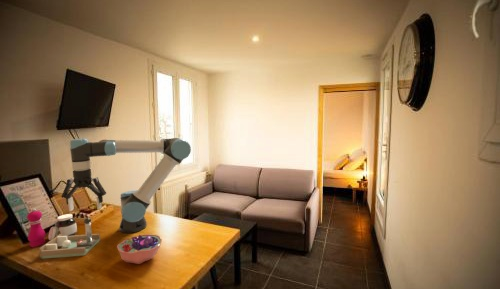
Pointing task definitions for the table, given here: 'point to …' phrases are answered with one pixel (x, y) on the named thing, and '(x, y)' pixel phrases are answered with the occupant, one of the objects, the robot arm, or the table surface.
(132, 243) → the cell model
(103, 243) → the table surface
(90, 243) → the kicker rod
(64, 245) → the ball
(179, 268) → the table surface
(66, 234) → the spread jar
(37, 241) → the pepper mill
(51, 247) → the beige tray
